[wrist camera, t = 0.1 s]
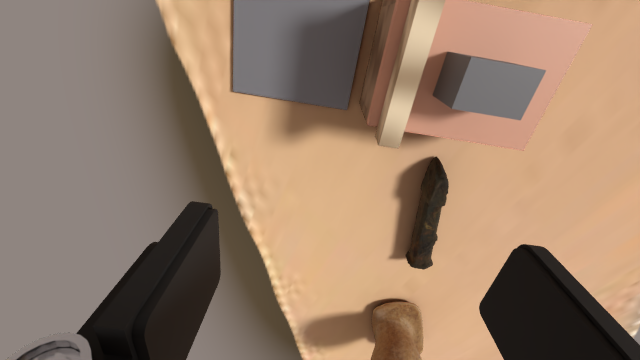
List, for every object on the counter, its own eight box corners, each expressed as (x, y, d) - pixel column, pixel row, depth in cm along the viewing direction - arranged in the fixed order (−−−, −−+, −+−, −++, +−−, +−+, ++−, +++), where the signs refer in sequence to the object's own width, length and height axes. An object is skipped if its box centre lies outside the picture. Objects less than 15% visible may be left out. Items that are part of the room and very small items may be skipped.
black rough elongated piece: (426, 254, 50) (435, 274, 46) (403, 253, 50) (410, 273, 46) (453, 155, 41) (467, 170, 37) (425, 154, 41) (436, 169, 37)
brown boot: (358, 299, 56) (367, 384, 43) (420, 294, 55) (449, 379, 42) (365, 345, 63) (375, 429, 50) (420, 341, 62) (445, 426, 49)
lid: (396, -10, 26) (418, -20, 19) (573, 24, 27) (649, 24, 20) (365, 119, 31) (374, 143, 25) (512, 143, 32) (556, 172, 26)
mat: (235, -42, 30) (234, -43, 30) (372, -17, 31) (373, -17, 31) (234, 90, 37) (232, 91, 37) (346, 109, 38) (346, 110, 38)
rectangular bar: (417, -25, 23) (427, -30, 21) (441, -20, 23) (453, -25, 21) (375, 136, 30) (378, 145, 28) (393, 139, 30) (398, 148, 28)
